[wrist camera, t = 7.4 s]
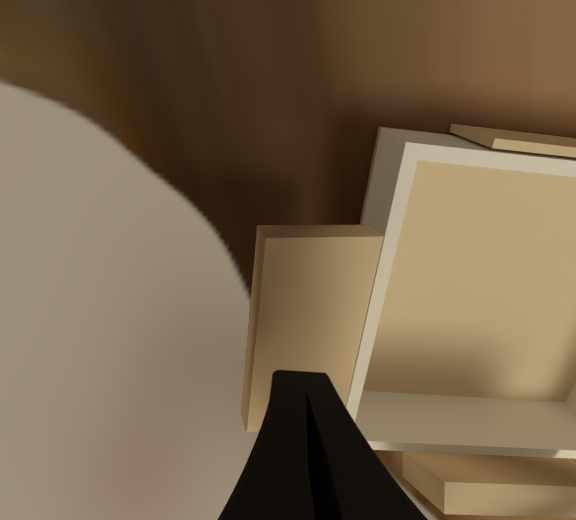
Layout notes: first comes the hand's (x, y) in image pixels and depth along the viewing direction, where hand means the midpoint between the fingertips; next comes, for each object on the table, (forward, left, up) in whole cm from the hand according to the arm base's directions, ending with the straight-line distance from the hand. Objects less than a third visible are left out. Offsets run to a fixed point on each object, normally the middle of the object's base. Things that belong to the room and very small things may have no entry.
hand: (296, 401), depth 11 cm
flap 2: (-9, +6, -3) cm, 11 cm away
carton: (-9, +1, -8) cm, 13 cm away
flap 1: (-1, +1, -3) cm, 3 cm away
